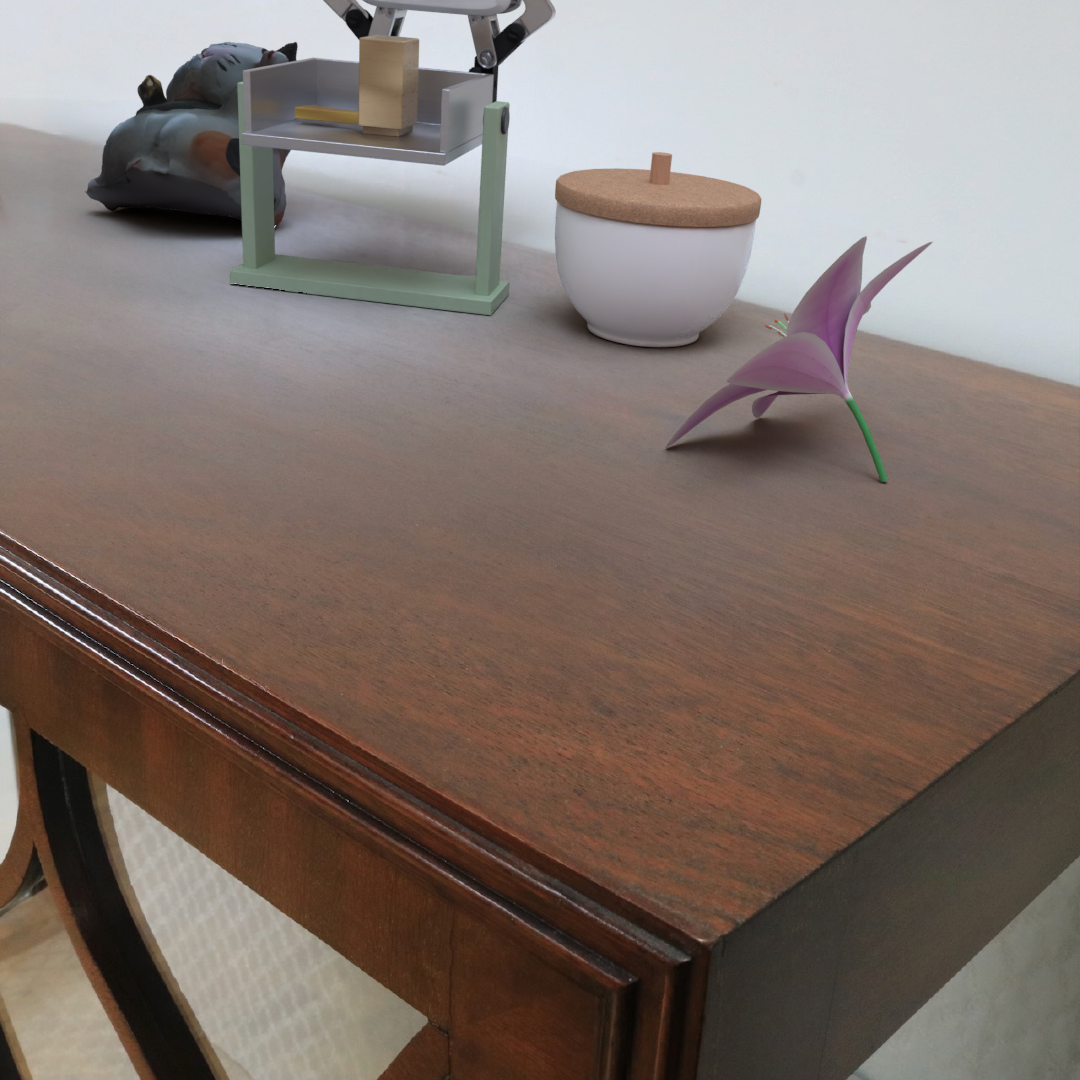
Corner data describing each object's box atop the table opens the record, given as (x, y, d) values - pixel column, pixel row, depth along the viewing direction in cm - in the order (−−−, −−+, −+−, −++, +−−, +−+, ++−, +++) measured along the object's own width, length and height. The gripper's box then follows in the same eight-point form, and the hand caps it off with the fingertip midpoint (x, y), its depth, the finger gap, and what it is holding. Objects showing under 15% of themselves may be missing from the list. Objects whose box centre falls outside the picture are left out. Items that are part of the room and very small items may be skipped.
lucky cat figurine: (67, 201, 86) (123, 13, 87) (229, 264, 93) (280, 88, 93) (120, 174, 74) (185, -46, 74) (303, 249, 80) (361, 46, 81)
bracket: (262, 265, 74) (258, 75, 70) (508, 294, 72) (520, 101, 68) (229, 284, 70) (222, 83, 65) (490, 315, 68) (502, 110, 63)
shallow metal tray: (356, 108, 81) (357, 49, 79) (518, 124, 79) (521, 64, 78) (241, 144, 64) (239, 70, 62) (444, 165, 62) (447, 90, 61)
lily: (883, 433, 58) (815, 240, 56) (1070, 421, 47) (991, 180, 45) (673, 539, 55) (593, 336, 53) (821, 552, 44) (726, 296, 42)
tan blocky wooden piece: (417, 131, 69) (419, 38, 67) (401, 137, 66) (403, 41, 64) (307, 119, 69) (306, 28, 67) (286, 126, 67) (285, 30, 65)
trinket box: (684, 302, 74) (705, 139, 70) (778, 356, 65) (807, 172, 61) (517, 307, 70) (528, 135, 66) (591, 365, 61) (610, 170, 57)
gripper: (597, -182, 74) (572, 134, 82) (325, -199, 76) (326, 109, 84) (578, -197, 67) (553, 148, 75) (280, -215, 70) (286, 121, 77)
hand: (433, 124), depth 79 cm, fingers closed on shallow metal tray, 5 cm apart
